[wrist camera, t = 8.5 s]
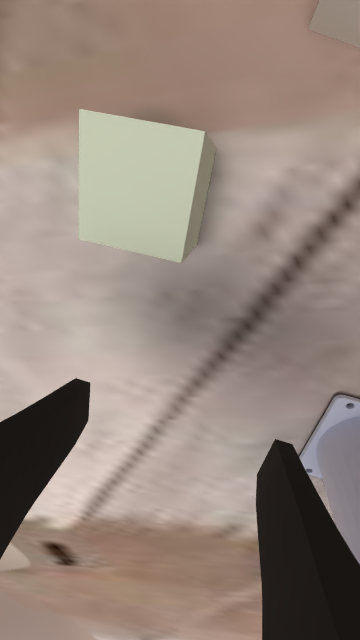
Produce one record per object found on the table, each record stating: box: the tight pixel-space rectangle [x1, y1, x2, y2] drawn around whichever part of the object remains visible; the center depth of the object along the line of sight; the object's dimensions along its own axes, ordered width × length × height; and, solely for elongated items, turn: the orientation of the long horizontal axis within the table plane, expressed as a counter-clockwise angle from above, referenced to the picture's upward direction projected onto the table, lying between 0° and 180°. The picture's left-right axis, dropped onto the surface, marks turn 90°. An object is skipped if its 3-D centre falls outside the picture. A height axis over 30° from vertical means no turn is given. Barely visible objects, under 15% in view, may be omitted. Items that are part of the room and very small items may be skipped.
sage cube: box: [79, 109, 216, 263], centre depth 14 cm, size 5×5×5 cm
